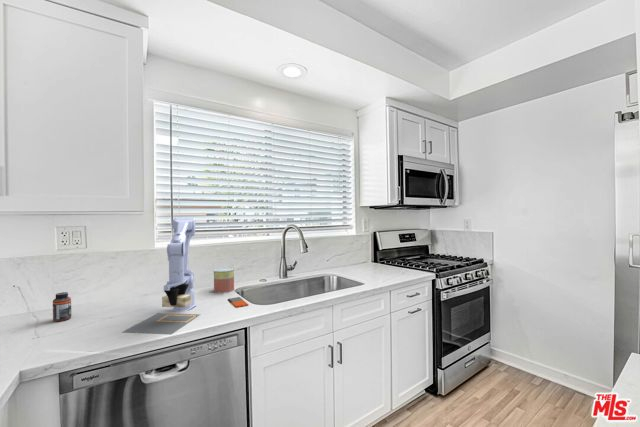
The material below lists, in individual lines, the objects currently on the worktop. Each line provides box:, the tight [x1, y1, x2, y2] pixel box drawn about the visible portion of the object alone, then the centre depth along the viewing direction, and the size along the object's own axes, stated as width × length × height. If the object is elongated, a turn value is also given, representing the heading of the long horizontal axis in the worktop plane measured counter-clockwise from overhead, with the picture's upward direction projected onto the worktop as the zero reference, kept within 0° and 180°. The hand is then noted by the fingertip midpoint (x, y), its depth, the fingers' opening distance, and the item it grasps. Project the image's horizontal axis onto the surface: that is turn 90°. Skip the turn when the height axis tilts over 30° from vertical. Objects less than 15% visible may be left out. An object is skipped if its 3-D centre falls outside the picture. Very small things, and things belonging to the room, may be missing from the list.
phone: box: [227, 296, 250, 309], centre depth 148 cm, size 6×1×15 cm
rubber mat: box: [121, 312, 201, 335], centre depth 120 cm, size 21×20×1 cm
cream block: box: [161, 294, 191, 308], centre depth 125 cm, size 10×4×4 cm, turn 85°
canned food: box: [213, 267, 235, 294], centre depth 171 cm, size 11×11×12 cm
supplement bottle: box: [52, 291, 72, 323], centre depth 126 cm, size 6×6×11 cm
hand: (176, 303), depth 125 cm, fingers closed on cream block, 4 cm apart
